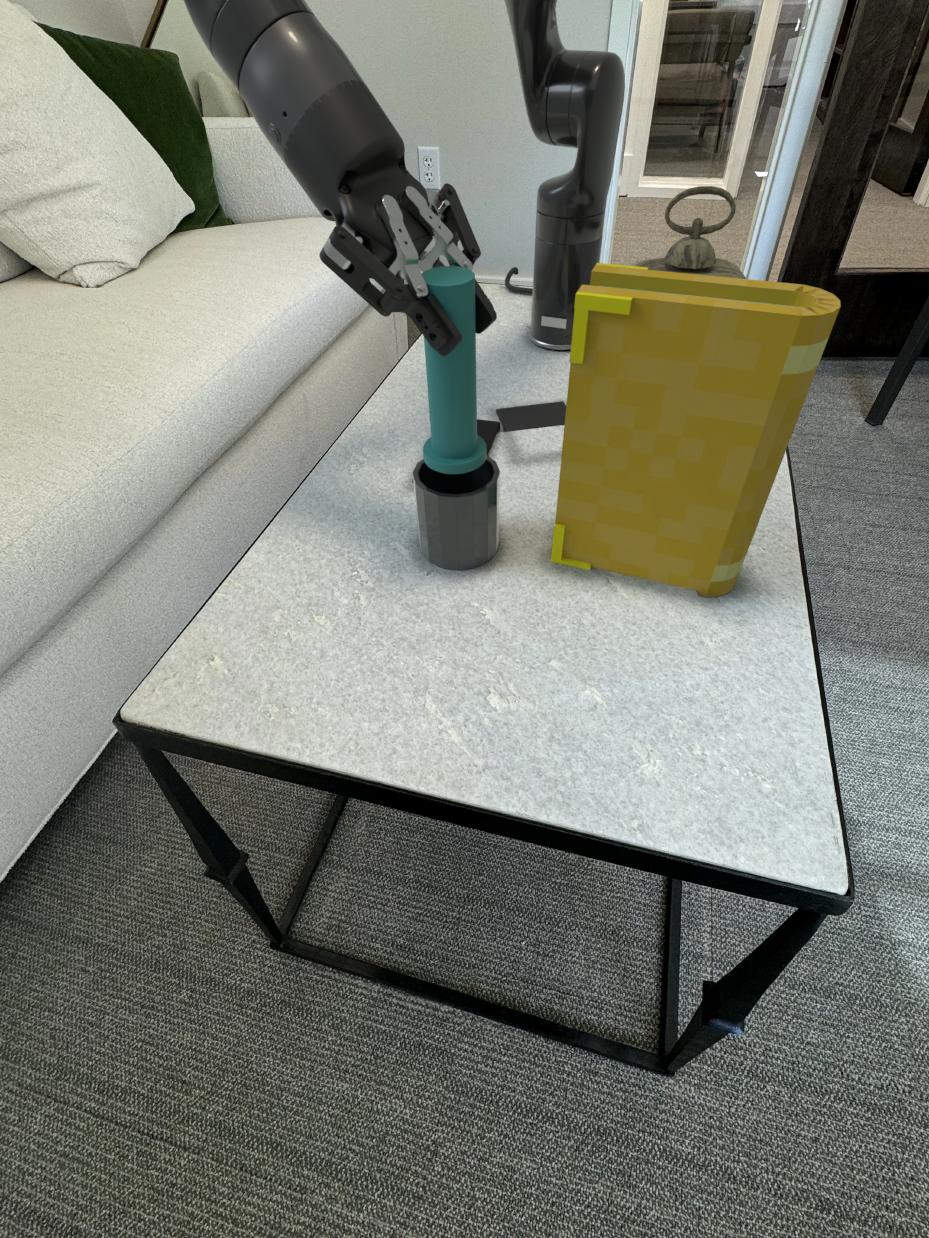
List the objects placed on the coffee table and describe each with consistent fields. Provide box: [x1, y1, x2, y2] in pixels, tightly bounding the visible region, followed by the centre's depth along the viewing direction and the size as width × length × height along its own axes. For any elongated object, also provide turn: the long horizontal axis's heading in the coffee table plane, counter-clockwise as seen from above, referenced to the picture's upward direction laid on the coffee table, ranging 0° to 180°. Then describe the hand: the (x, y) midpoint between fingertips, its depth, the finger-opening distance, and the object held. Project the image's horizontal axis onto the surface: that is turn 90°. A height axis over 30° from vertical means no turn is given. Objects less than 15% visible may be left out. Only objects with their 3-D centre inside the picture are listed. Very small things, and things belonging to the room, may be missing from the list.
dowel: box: [421, 265, 486, 474], centre depth 52 cm, size 6×6×15 cm
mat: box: [495, 400, 567, 433], centre depth 80 cm, size 12×9×1 cm
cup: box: [412, 454, 501, 571], centre depth 61 cm, size 8×8×9 cm
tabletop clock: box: [629, 185, 748, 279], centre depth 72 cm, size 14×9×25 cm, turn 88°
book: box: [550, 262, 842, 598], centre depth 53 cm, size 17×7×25 cm, turn 69°
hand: (470, 336), depth 48 cm, fingers closed on dowel, 4 cm apart
